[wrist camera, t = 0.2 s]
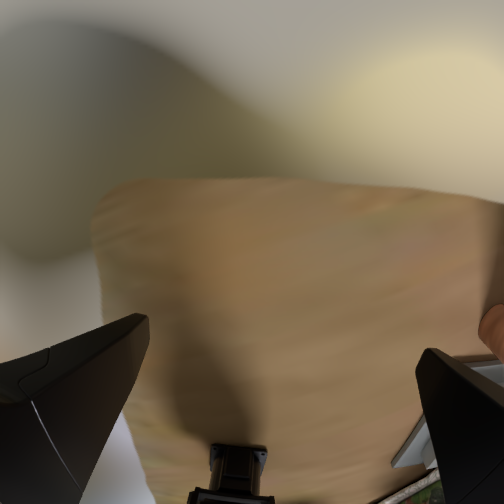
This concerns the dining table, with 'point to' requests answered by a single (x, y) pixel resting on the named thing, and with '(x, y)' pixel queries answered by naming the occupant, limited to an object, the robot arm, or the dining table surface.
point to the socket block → (419, 441)
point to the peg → (493, 330)
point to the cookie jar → (420, 492)
